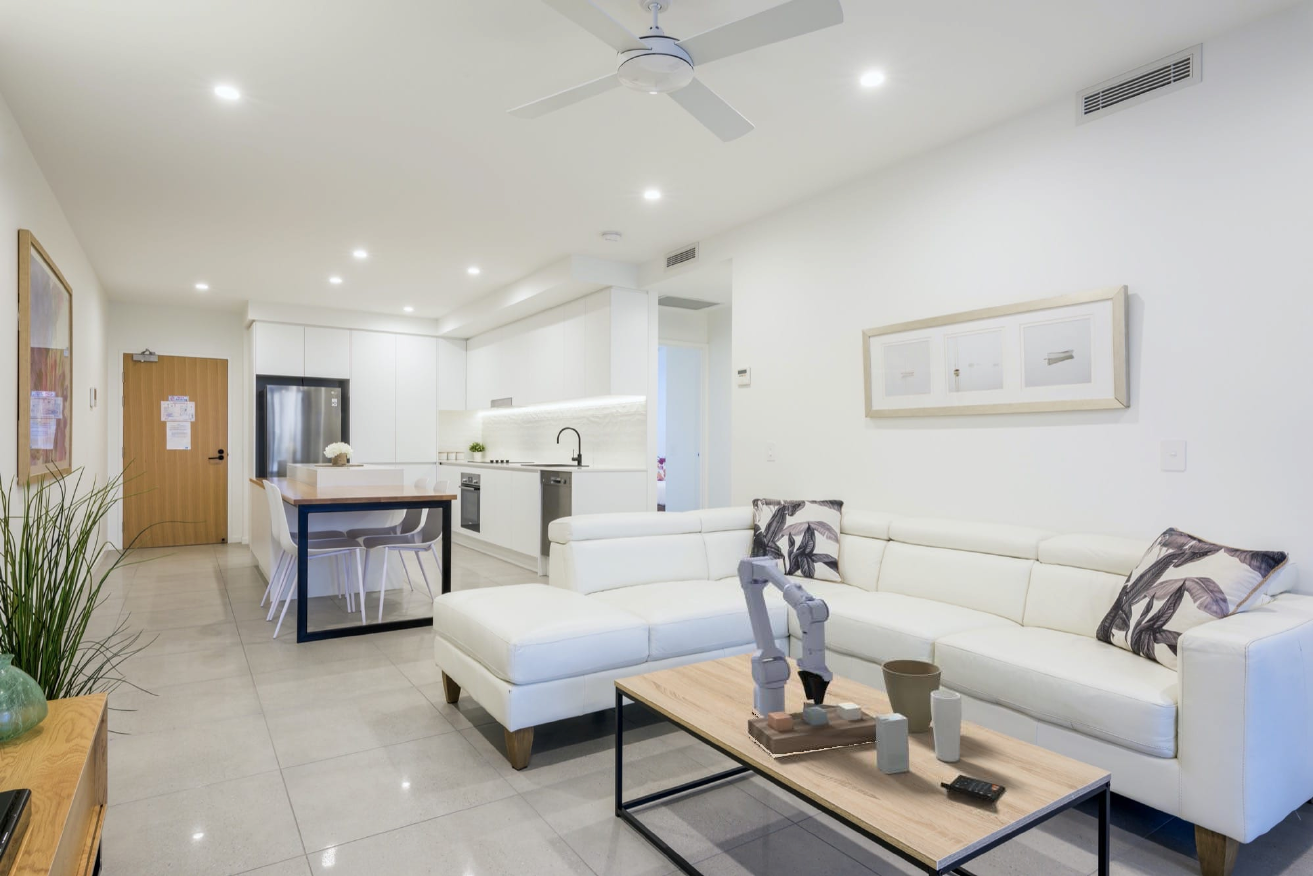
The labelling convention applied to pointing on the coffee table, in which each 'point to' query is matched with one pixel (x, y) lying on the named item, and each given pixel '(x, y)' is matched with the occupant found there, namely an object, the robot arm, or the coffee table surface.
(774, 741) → the board
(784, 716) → the pink cube
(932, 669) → the plant pot
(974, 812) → the coffee table surface
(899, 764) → the skincare box
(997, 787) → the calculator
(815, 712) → the slate key
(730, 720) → the coffee table surface
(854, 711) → the ivory key
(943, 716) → the drinking glass
